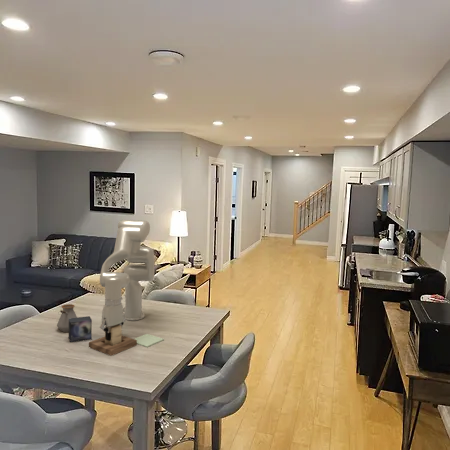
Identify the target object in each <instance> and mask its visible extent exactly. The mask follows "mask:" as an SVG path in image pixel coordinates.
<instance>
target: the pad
mask: <svg viewBox="0 0 450 450" xmlns="http://www.w3.org/2000/svg"><path fill="white" fill-rule="evenodd" d="M134 339H135V340H137V345H138V346H142V347H145V348H149V347H151V346H154V345H156V344H159V343H161V342H163V341H165V338H162V337H159V336H156V335H153V334H149V333H146V334H143V335H140V336H138V337H135V338H134Z"/></svg>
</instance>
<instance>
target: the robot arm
mask: <svg viewBox="0 0 450 450" xmlns="http://www.w3.org/2000/svg"><path fill="white" fill-rule="evenodd" d="M150 225H151V224H150V223H149V221H147V220H135V219H122V220H120V221H118V222H117V227H118V229H117V233H116V238H115V244H114V249H113V251H112V253H111V254H110V255H109V256H108V257H107V258H106V259H105V261H104V262H103V263H102V265H101V269H100V273H99V284H100V286H101V287H103V288H104V305H103V307H102V311H101V312H102V314H101V324H100V326H99V328H100V330H102V331H103V332H104V337H105V339H106V340H108V341H110V340H111V333H110V329H111V326H114V325H117V324H118V325H121V326H122V327H123V325H124V324H125V322H126V321H140V320H143V319H144V318H145V313H143V312H142V311H143V310H142V308H143V305H142V304H143V299H142V298H143V287H142V285H141V283H140V282H152V281H153V280H154V278H155V253H154V249H153V248H152V247H148V246H142V244H141V243H143V242H145V241H146V240H147V237H148V235H149V234H150V231H151V226H150ZM125 260H126V261H127V262H128V263H131V264H128V265H126V266H125V267H124V269H123V272H117V271H116V272H115V271H113V272H112V271H109V270H110V268H111V267H112V266H113V265H115V264H116V263H118V262H121V261H125ZM123 289H125V294H124V295H125V301H124V303H125V304H124V305H125V307H123V303H122V300H123V297H122V290H123ZM107 328H108V329H107Z"/></svg>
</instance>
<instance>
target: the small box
mask: <svg viewBox="0 0 450 450" xmlns="http://www.w3.org/2000/svg"><path fill="white" fill-rule="evenodd" d="M92 322H93V319H92V318H91V316H90V315H89V316H88V315H87V316H80V317H79V316H77V318H69V332H68V336H67V338H68V340H69V342H70V343H75V342H76V343H77V342H82V341H83V340H84V341H89V340H90V339H91V340H92V337H93V336H92V334H93V333H92V327H93V326H92V325H93V323H92ZM91 340H90V341H91Z"/></svg>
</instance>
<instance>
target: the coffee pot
mask: <svg viewBox="0 0 450 450" xmlns="http://www.w3.org/2000/svg"><path fill="white" fill-rule="evenodd" d="M75 306H76V305H75V304H68V303H67V304H63V305H61V308H62V310H60V311H59V312H60V313H61V314H59V312H58V315H60V317H59V319H58V320H57V321H58V322H57V323H56V327H57V329H58V330H60V331H61V332H63V333H66V332H67V333H69V318H78V316H77V314H76V312H75V309H74V308H75Z"/></svg>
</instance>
